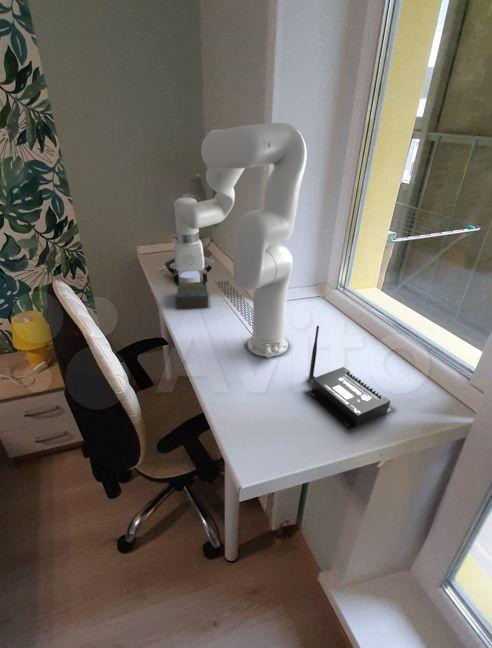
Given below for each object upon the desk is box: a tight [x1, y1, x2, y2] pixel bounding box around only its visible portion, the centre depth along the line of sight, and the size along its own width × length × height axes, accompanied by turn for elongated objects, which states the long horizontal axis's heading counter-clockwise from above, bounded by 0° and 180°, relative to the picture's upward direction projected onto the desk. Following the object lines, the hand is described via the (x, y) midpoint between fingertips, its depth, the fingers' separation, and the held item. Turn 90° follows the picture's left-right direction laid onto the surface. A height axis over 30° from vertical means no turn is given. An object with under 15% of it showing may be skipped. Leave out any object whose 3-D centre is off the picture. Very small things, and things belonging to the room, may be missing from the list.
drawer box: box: [177, 298, 209, 310], centre depth 146 cm, size 13×11×4 cm
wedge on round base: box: [172, 266, 201, 283], centre depth 163 cm, size 9×7×13 cm
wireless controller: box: [306, 325, 392, 431], centre depth 94 cm, size 20×14×17 cm
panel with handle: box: [176, 281, 209, 301], centre depth 143 cm, size 13×11×6 cm
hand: (191, 283), depth 139 cm, fingers open, 9 cm apart
